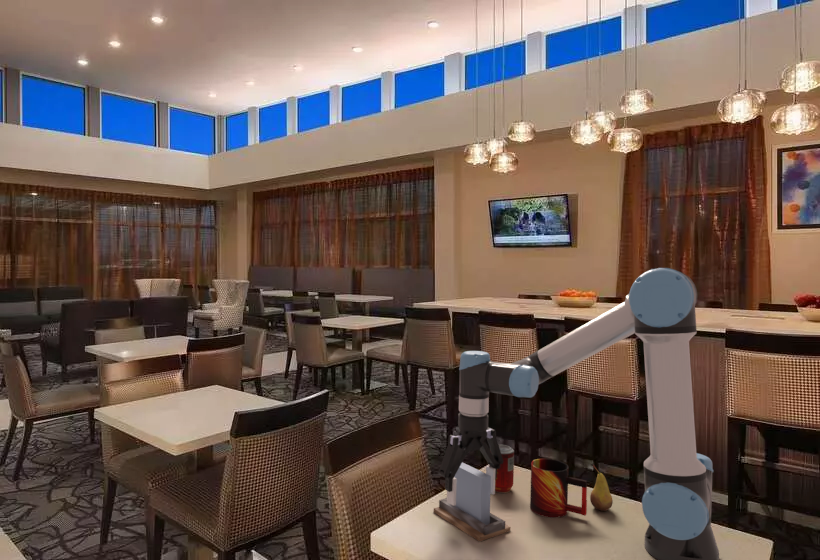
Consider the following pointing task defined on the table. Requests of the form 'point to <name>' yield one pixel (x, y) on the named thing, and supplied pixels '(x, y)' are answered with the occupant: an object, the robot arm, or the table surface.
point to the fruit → (601, 493)
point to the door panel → (473, 492)
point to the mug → (554, 489)
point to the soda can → (505, 470)
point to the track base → (471, 522)
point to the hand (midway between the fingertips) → (471, 497)
